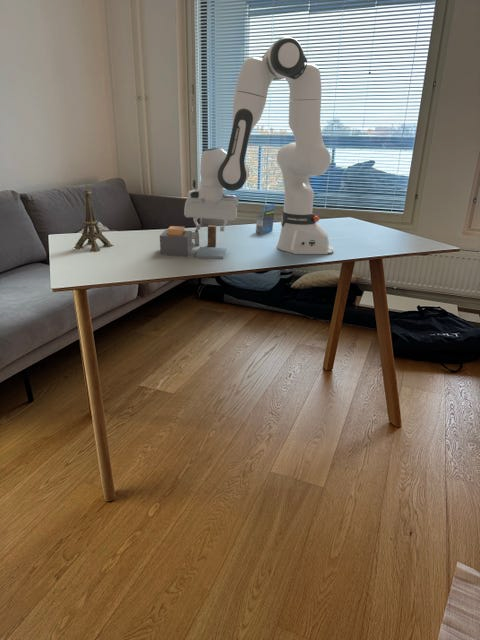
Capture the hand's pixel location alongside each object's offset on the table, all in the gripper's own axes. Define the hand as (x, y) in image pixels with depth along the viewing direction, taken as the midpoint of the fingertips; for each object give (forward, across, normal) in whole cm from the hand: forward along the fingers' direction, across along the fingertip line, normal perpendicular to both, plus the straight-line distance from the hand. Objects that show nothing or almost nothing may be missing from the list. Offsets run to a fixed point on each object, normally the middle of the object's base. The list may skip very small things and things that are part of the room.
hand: (210, 230), depth 166 cm
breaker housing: (+7, +11, +10) cm, 17 cm away
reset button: (+1, +11, +10) cm, 16 cm away
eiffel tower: (+8, +43, +9) cm, 45 cm away
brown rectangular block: (+6, -1, 0) cm, 6 cm away
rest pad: (+6, -2, +11) cm, 13 cm away
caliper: (+7, +9, -10) cm, 15 cm away
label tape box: (+6, -22, -31) cm, 39 cm away
